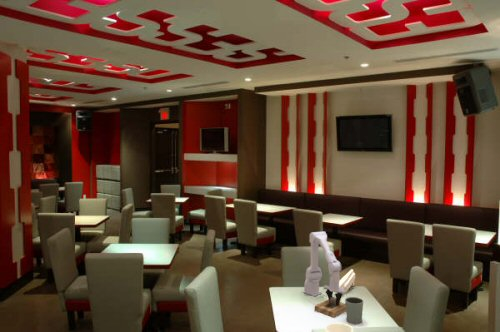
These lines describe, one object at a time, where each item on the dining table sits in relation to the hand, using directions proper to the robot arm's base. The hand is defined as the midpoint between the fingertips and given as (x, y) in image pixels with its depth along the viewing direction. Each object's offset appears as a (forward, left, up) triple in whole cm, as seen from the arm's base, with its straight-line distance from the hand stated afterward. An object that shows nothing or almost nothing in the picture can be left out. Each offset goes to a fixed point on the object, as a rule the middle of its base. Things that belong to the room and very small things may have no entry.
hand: (334, 303), depth 253 cm
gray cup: (+17, -6, -4) cm, 18 cm away
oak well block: (0, -2, -4) cm, 4 cm away
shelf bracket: (-11, +31, -4) cm, 34 cm away
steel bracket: (0, -3, -3) cm, 4 cm away
